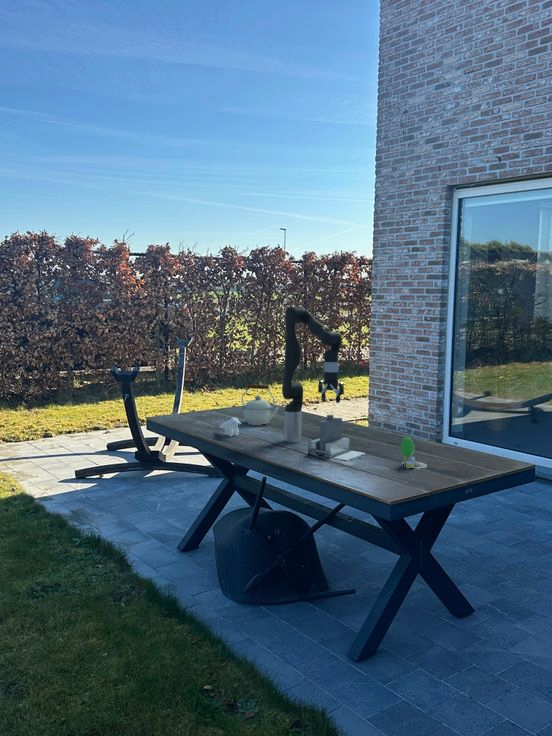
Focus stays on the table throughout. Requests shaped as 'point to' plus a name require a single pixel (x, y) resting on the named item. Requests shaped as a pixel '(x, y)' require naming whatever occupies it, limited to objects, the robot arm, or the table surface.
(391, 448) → the table surface
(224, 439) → the table surface
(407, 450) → the train set
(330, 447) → the vise
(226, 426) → the white dinosaur figurine
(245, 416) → the kettle
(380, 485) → the table surface
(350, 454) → the mat
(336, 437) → the hip flask
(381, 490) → the table surface
